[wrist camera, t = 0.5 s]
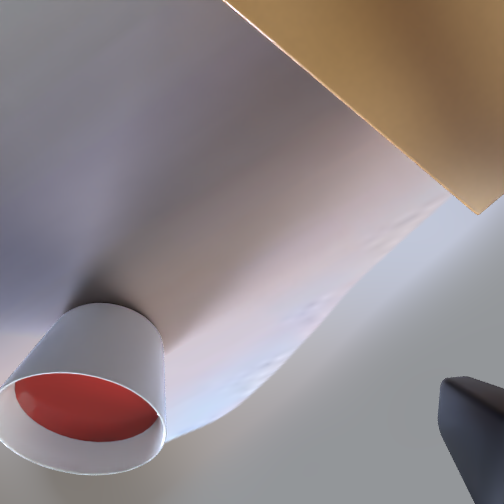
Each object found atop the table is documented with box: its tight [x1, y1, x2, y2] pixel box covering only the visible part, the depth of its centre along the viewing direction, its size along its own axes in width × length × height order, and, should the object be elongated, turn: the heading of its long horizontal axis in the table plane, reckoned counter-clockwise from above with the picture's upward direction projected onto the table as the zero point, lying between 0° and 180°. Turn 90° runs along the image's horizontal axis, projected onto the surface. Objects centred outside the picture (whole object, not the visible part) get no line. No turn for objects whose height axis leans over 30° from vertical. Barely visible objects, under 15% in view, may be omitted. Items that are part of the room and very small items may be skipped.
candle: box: [0, 303, 166, 475], centre depth 25 cm, size 9×9×6 cm
